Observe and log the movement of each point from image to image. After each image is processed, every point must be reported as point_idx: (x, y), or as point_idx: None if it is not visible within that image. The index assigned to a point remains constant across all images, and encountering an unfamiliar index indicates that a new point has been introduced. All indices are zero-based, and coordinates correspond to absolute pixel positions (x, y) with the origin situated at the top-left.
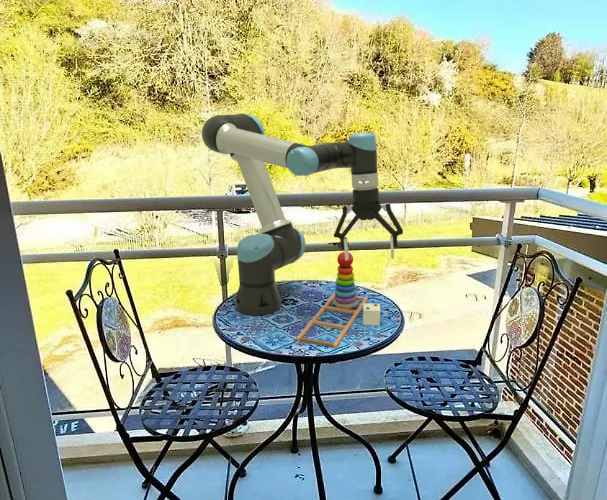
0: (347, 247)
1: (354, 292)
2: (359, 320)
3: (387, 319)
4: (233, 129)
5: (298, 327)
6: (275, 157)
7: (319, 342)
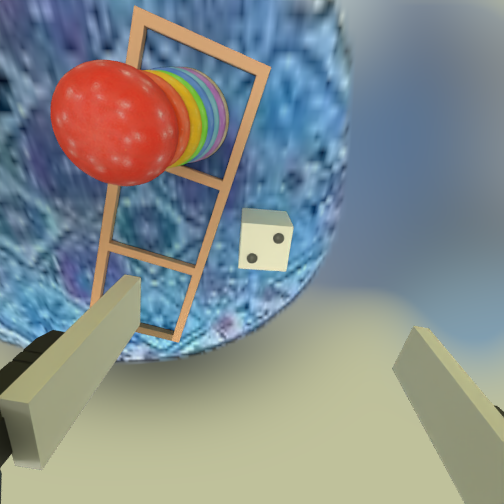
0: (97, 359)
1: (213, 142)
2: (231, 225)
3: (307, 218)
4: None
5: (76, 263)
6: None
7: (142, 333)
